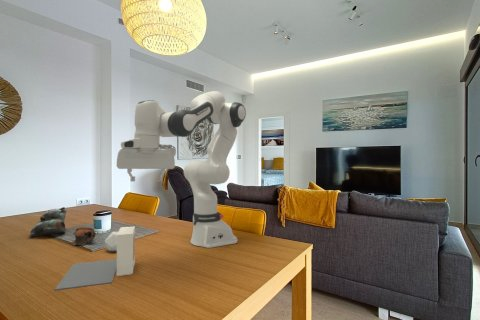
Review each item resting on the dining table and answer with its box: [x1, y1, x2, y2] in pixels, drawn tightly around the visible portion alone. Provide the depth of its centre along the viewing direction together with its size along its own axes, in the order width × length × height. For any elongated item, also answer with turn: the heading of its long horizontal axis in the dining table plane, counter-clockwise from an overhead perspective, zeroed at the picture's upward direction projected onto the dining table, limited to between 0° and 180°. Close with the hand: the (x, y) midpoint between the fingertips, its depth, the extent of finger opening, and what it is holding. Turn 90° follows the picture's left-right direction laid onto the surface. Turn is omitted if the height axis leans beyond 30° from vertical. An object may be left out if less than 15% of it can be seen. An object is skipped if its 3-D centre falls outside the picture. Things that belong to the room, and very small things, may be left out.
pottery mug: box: [71, 227, 97, 246], centre depth 122 cm, size 12×10×8 cm
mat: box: [54, 258, 117, 291], centre depth 90 cm, size 16×20×1 cm
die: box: [104, 231, 119, 252], centre depth 113 cm, size 8×9×10 cm
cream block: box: [116, 226, 136, 277], centre depth 94 cm, size 5×10×14 cm, turn 18°
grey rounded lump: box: [28, 206, 67, 238], centre depth 136 cm, size 17×14×16 cm
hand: (146, 181), depth 96 cm, fingers open, 8 cm apart
